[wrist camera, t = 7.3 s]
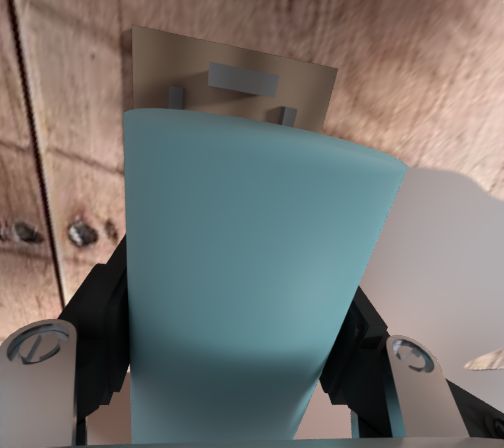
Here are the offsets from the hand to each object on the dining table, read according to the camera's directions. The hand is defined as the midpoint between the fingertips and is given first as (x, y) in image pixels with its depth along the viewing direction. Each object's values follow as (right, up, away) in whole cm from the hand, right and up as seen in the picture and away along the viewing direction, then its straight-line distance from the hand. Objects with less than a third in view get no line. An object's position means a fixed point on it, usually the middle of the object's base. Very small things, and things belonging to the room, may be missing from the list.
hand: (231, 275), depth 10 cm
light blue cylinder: (0, 0, +1) cm, 1 cm away
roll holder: (-2, +8, +16) cm, 18 cm away
